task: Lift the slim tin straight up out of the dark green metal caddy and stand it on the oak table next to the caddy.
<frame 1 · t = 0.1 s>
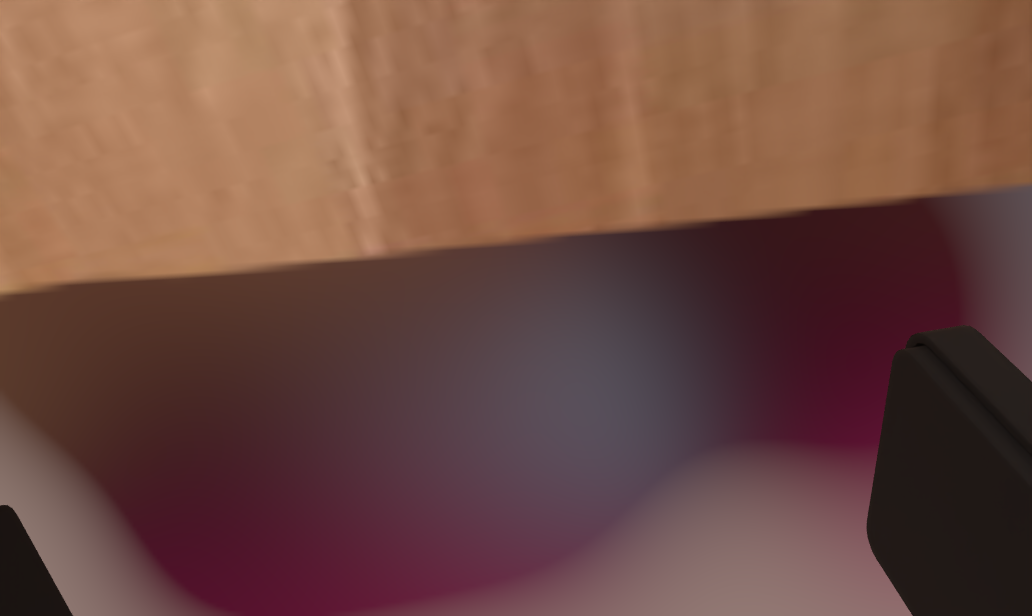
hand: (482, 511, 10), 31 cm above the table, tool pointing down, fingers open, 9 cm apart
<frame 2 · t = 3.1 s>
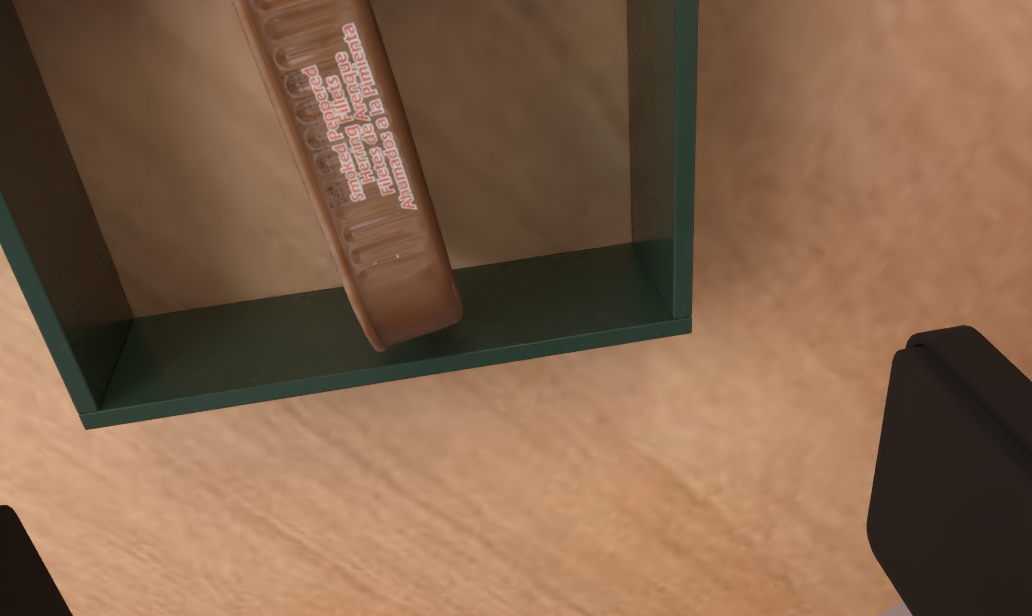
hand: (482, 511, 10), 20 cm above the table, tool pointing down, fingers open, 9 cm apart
tin: (339, 27, 26), resting in caddy
caddy: (339, 29, 26), on the table
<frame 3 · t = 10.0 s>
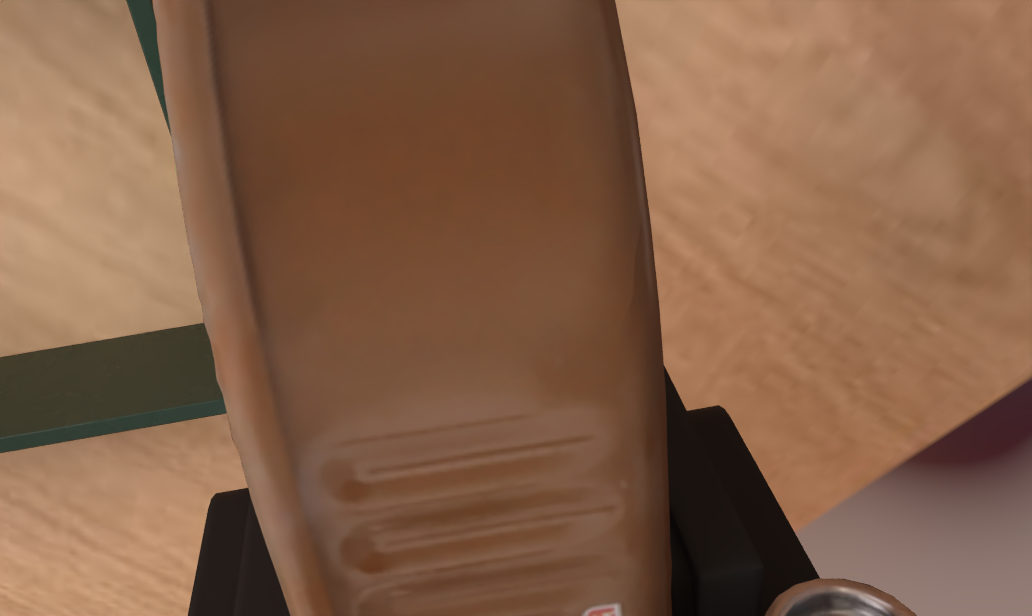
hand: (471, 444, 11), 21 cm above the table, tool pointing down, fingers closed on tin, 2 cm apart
tin: (470, 282, 14), point 17 cm above the table, touching gripper
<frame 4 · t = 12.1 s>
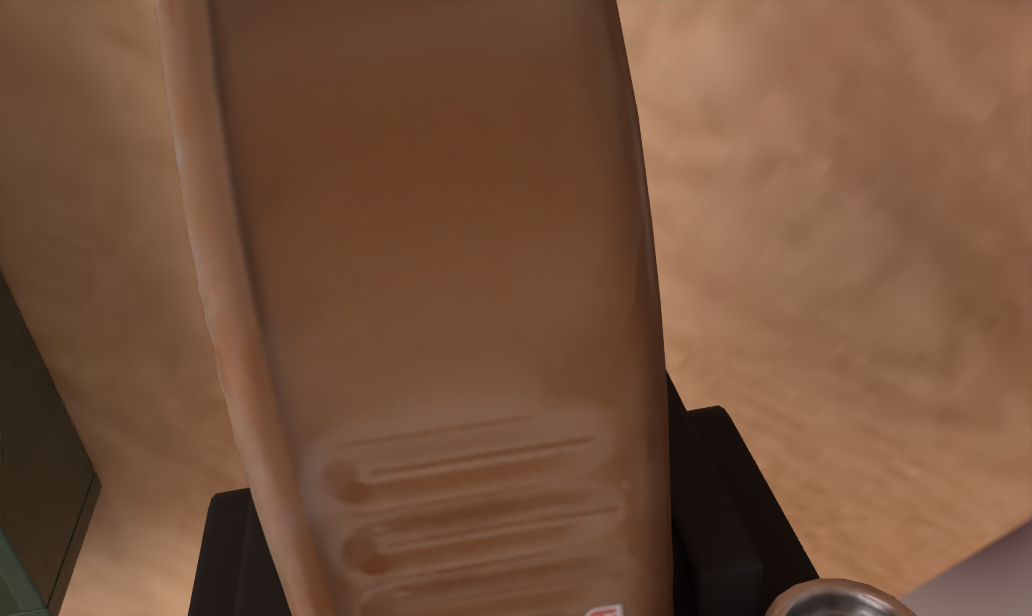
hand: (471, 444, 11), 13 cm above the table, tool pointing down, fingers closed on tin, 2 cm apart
tin: (470, 283, 14), point 9 cm above the table, touching gripper
when the fingers open (4 cm above the table, at t = 14.2 s): tin stays where it is, on the table.
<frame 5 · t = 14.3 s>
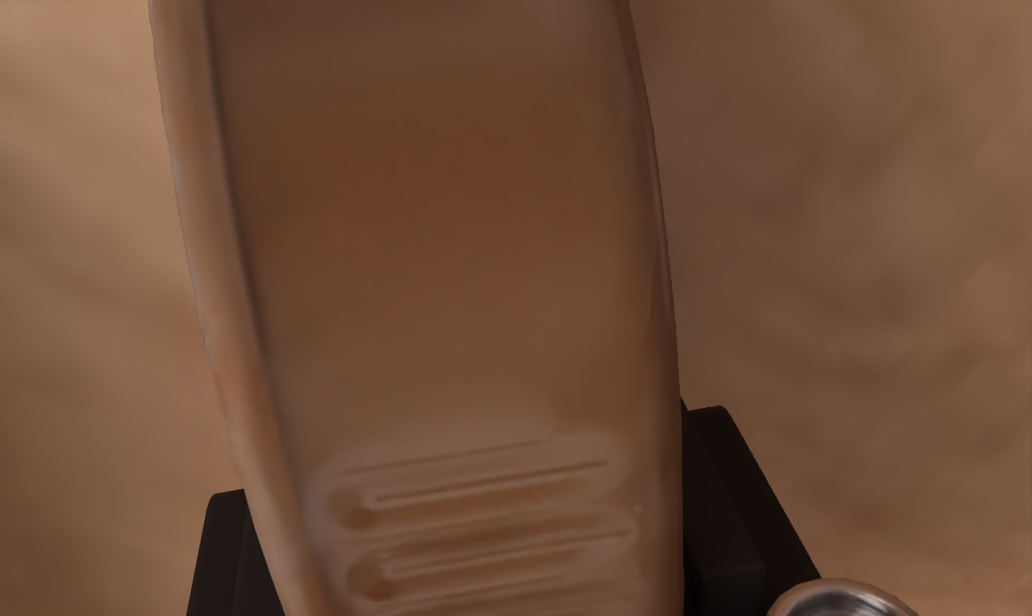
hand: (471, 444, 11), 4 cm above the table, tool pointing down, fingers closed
tin: (469, 281, 14), on the table
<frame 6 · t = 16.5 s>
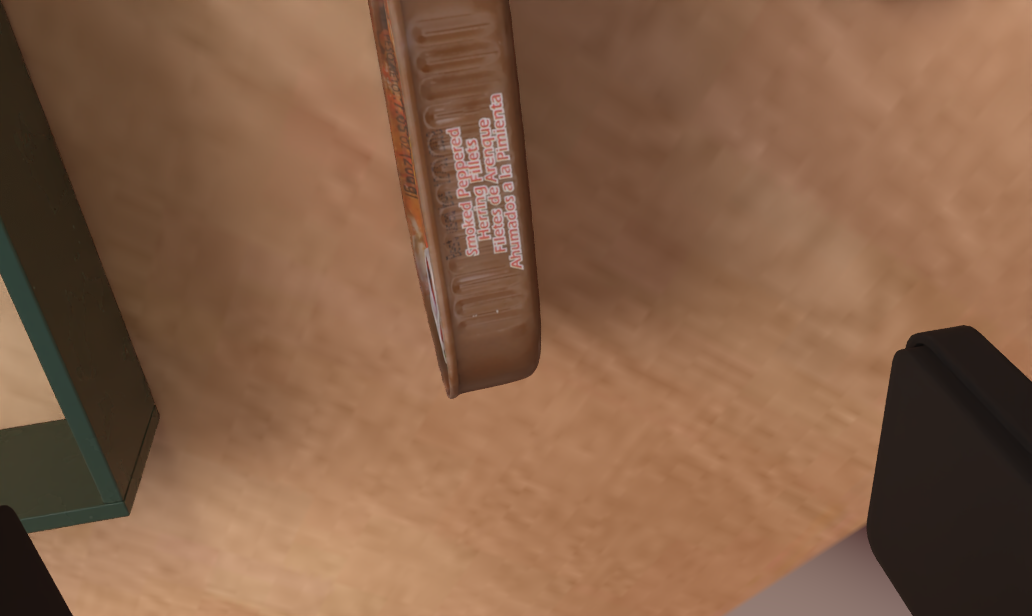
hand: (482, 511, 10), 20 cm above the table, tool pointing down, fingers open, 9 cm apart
tin: (435, 84, 28), on the table
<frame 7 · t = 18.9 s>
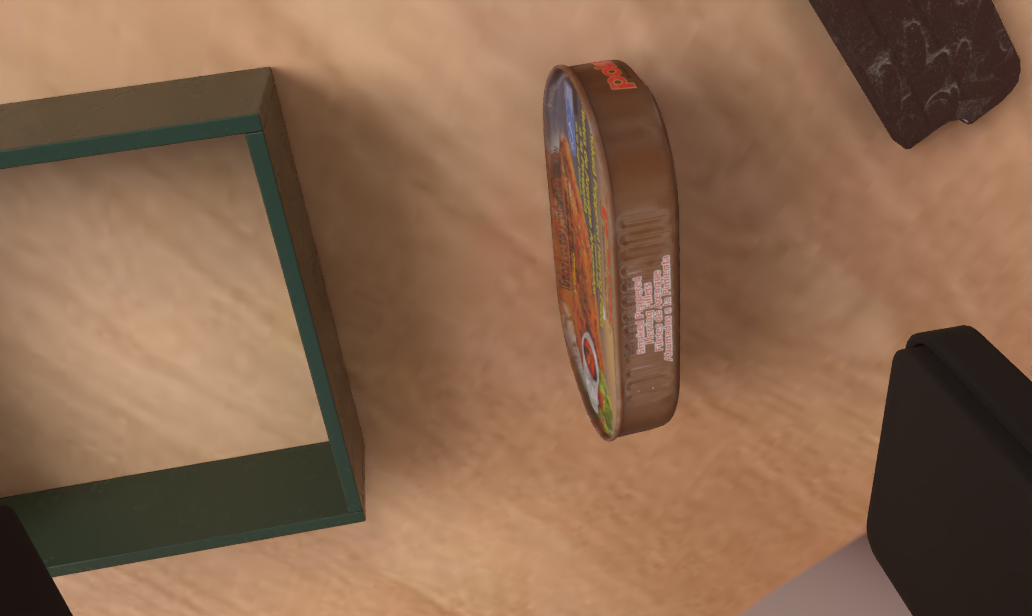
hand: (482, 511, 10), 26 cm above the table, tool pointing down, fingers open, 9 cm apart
tin: (586, 209, 38), on the table
caddy: (101, 315, 37), on the table
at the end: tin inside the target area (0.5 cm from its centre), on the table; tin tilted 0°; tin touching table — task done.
